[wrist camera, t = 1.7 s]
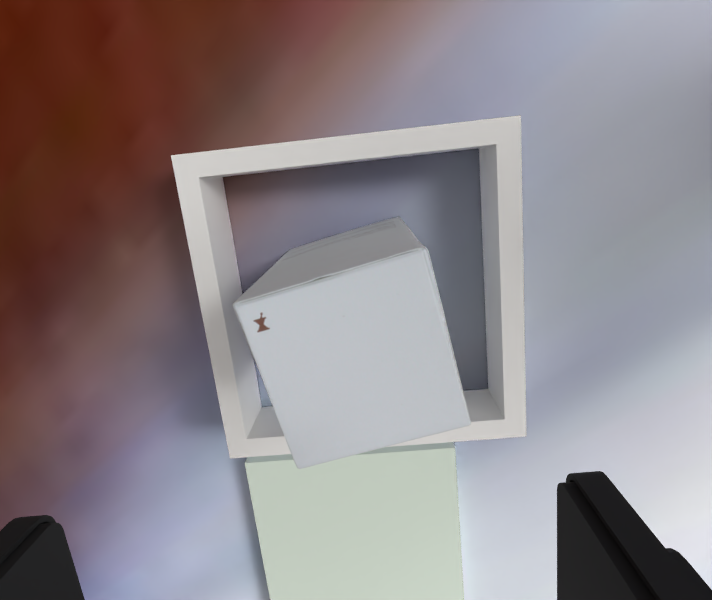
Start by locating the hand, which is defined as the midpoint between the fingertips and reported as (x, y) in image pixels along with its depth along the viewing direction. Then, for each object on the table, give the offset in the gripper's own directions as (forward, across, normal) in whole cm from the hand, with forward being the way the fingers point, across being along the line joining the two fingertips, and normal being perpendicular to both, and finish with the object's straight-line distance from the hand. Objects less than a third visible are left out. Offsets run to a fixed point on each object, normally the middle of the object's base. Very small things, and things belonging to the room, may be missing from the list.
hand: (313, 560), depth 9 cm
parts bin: (+21, -1, 0) cm, 21 cm away
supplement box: (+22, -1, 0) cm, 22 cm away
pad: (+22, +1, +18) cm, 28 cm away
